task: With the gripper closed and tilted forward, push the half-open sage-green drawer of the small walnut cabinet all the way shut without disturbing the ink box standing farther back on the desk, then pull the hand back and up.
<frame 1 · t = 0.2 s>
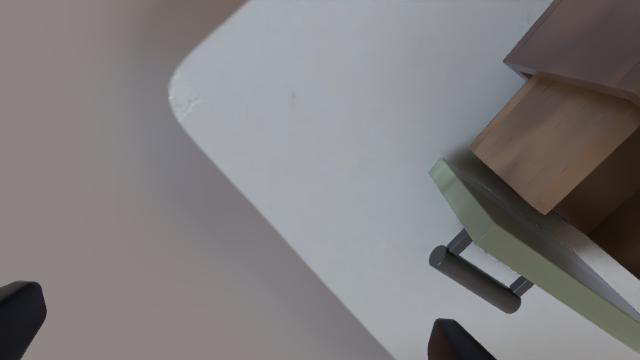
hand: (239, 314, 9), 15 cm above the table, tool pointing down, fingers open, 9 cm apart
drawer: (593, 197, 18), point 5 cm above the table, slide at 6.0 cm
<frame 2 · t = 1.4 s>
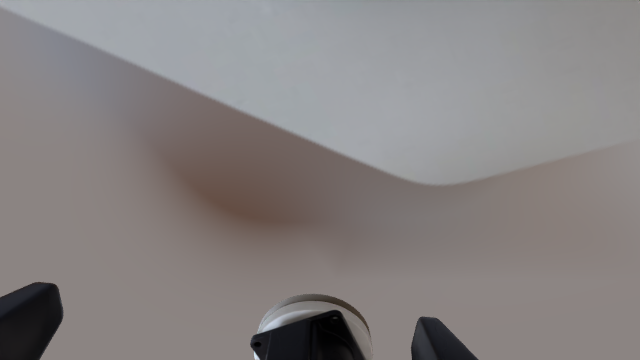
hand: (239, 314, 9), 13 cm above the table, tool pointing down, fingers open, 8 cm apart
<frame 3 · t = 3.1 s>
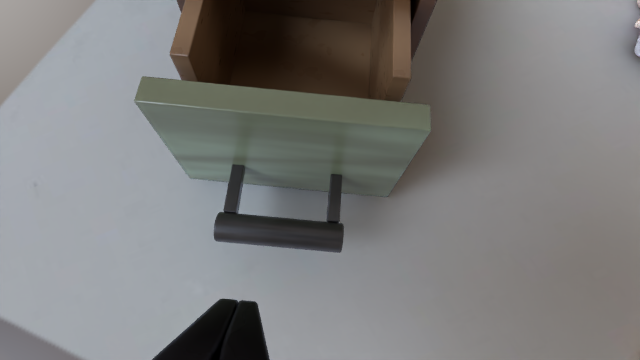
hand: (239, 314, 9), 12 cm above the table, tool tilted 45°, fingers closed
drawer: (296, 84, 19), point 5 cm above the table, slide at 6.0 cm
cabinet: (310, 15, 28), on the table
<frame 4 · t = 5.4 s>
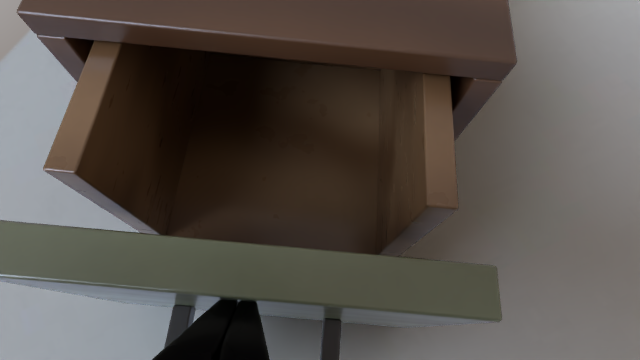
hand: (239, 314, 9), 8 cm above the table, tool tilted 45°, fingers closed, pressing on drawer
drawer: (272, 179, 13), point 5 cm above the table, slide at 4.9 cm, touching gripper
cabinet: (298, 69, 21), on the table
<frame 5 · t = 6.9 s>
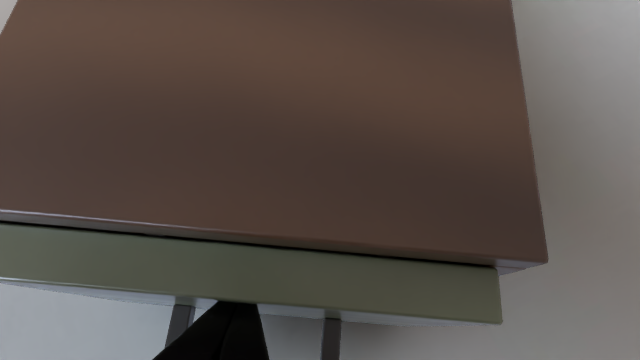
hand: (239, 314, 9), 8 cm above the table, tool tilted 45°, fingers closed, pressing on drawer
drawer: (272, 178, 13), point 5 cm above the table, slide at 0.0 cm, touching cabinet, gripper
cabinet: (288, 146, 19), on the table
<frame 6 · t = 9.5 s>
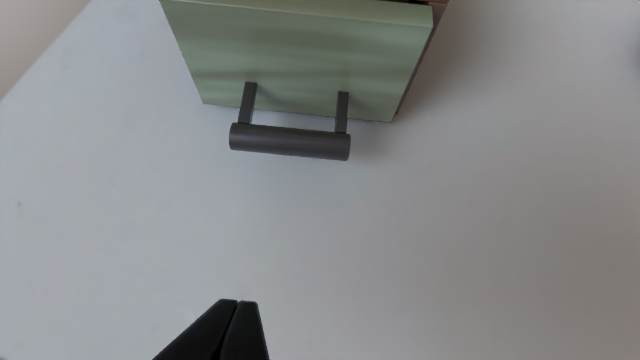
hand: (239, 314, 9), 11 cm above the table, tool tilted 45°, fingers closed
drawer: (305, 8, 21), point 5 cm above the table, slide at 0.0 cm, touching cabinet
cabinet: (309, 23, 26), on the table
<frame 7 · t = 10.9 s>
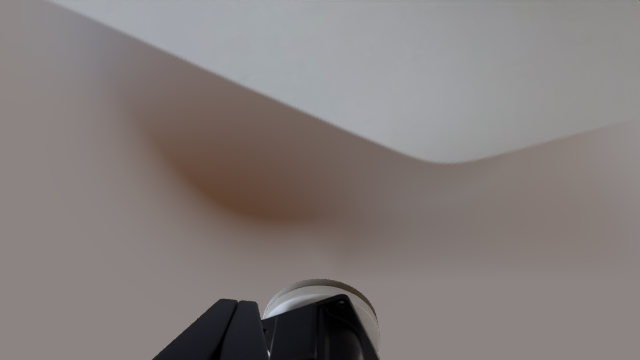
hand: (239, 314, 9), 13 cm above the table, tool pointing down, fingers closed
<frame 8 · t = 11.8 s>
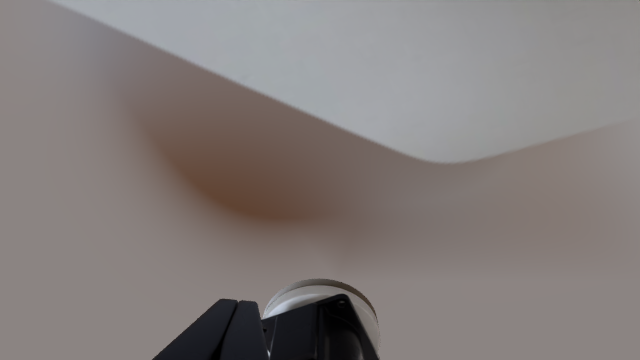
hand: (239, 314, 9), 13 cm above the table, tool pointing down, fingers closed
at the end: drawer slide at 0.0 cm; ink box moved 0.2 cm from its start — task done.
